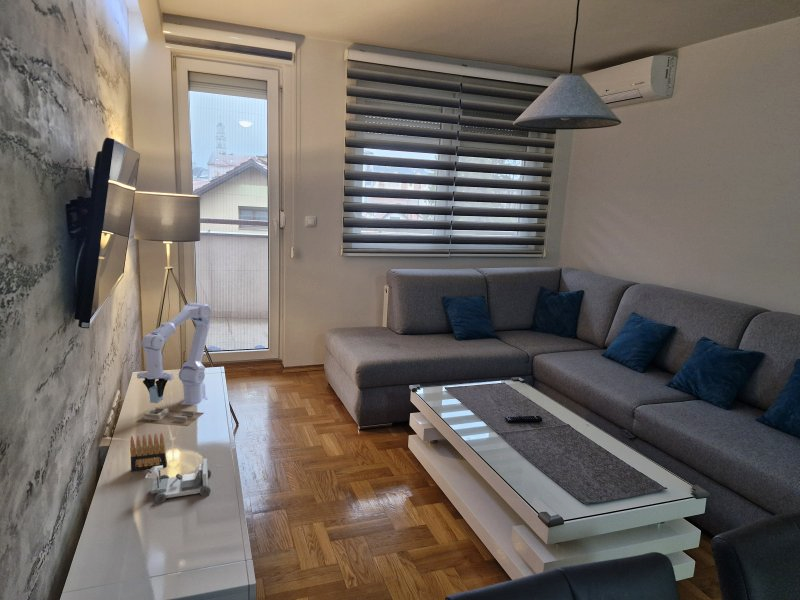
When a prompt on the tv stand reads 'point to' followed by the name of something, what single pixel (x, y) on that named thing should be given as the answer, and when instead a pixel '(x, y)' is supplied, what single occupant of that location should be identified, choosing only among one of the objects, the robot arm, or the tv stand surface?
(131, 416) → the tv stand surface
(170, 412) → the brown tray
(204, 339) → the robot arm
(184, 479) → the toy car
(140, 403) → the tv stand surface
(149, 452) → the ammunition clip
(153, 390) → the plug
